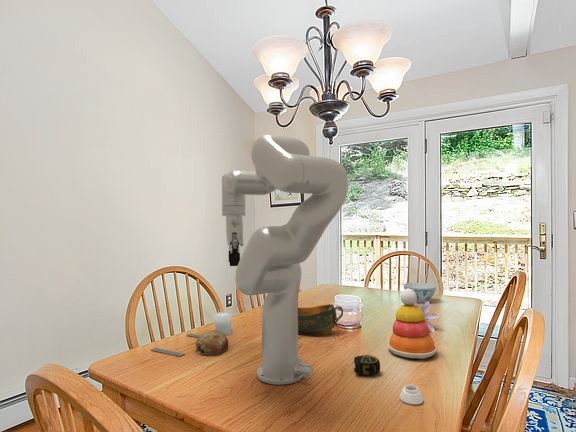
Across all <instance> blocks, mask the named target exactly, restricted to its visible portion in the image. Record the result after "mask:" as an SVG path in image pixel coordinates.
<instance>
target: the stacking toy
mask: <svg viewBox="0 0 576 432" xmlns="http://www.w3.org/2000/svg"><path fill="white" fill-rule="evenodd" d="M400 301H401V302H402V303H403V304H402V305H401V306H399V308H398V309H397V310H396V313H395V320H394V322H393V324H392V333H391V335H390V337H389V341H388V342H387V347H388V350H389V351H390V352H391V353H392V354H394V355H396V356H399V357H403V358H409V359H420V360H424V359H427V358H430V357H432V356H434V355H435V354H436V353H437V351H438V348H437V346H436V345H435V342H434V339H433V337H432V335H431V334H430V333H431V331H430V330H429V326H428V324H427V322H426V321H427V320H426V321H425V316H424V313H423V311H422V310H421V308H420V306H419V305H418V306H419V307H418V306H416V305H414V304H415V303H417V302H416V301H417V296H416V293H415V292H414V291H413V290H412V289H404V290H402V292H401V294H400Z"/></svg>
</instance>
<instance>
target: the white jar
mask: <svg viewBox="0 0 576 432" xmlns="http://www.w3.org/2000/svg"><path fill="white" fill-rule="evenodd" d="M399 399H400V400H401V402H403V403H405V404H408V405H414V406H415V405H421V404H423V402H424V397H423V396H422V392H421V391H420V390H419V387H418V386H416V385H414V384H405V385H404V387H403V388H402V390H401V392H400V394H399Z"/></svg>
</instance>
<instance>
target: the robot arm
mask: <svg viewBox="0 0 576 432" xmlns="http://www.w3.org/2000/svg"><path fill="white" fill-rule="evenodd" d="M310 154H311V153H310V150H309V147H308V145H307V144H306V143H305V142H304V141H302V140H300V138H296V137H291V136H284V135H277V134H262V135H261V136H259V137H258V138H257V139H256V140H255V141H254V143H253V145H252V147H251V153H250V155H251V161H252V163H253V165H254V170H247V169H246V170H245V169H244V170H243V169H234V170H231V171H230V172H228V173H227V172H226V173H224V174H223V175H222V176H221V216H222V217H225V234H226V235H225V236H226V242H227V246H228V249H229V250H228V263H229V267H236V268H235V269H236V270H235V276H234V277H235V285H236V287H237V290H239V292H240V293H242V294H244V295H246V296H257V295H265V294H267V295H266V296H265V298H264V300H263V304H262V309H261V334H262V335H261V337H262V338H261V339H262V342H261V343H262V344H261V347H262V349H261V350H262V351H261V352H262V354H261V356H262V358H261V359H262V363H261V365H259V367H258V368H257V369H256V377H257V379H258V380H259V381H261V382H263V383H266V384H269V385H274V386H275V385H277V386H279V385H280V386H281V385H282V386H283V385H289V384H294V383H296V382H299V381H301V380H302V379H303V378H304V377H305V376H310V377H311V376H312V375H313V374H312V373H313V368H312V364H310V363H304V361H303V356H299V334H298V308H299V293H300V286H301V281H302V268H301V263H304V262H305V261H306V260H307V259H308V258H309V257H310V255H311V254H312V252H313V251H314V249H315V247H316V245H317V244H318V243H319V241H320V240H321V237H322V236H323V234H324V233H325V231H326V230H327V228H328V226H329V224H331V222H332V221H333V220H334V218H335V217H336V216H337V214H338V213H339V212H340V210H341V209H342V208H343V205H344V203H345V201H346V198H347V195H348V191H349V178H348V173H347V171H346V169H345V167H344V166H343V164H341V163H340V162H338V161H337V160H336V159H335V160H334V159H332V158H328V157H324V156H316V155H315V156H314V155H310ZM277 190H279V191H281V192H282V193H287V194H309V195H310V194H311V195H310V196H309V197H307V198H306V199H305V200H303V201H302V202H301V203H300V204H299V205H298V206H297V207H296V208H295V210H294V211H293V213H292V214H291V217H290V218H289V220H288V221H287V222H286V224H283V225H277V226H276V225H275V226H271V225H270V226H264V227H260V228H258V229H256V230H255V231H254V232H253V233H252V234H251V235H250V238H249V239H248V242H247V243H246V246H245V247H244V248H245V249H244V251H243V253H242V254H241V253H240V247H243V246H244V226H243V225H244V223H243V221H244V220H243V216H244V217H245V216H246V195H247V196H266V195H268V194H271V193H273V192H276V191H277Z"/></svg>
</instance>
